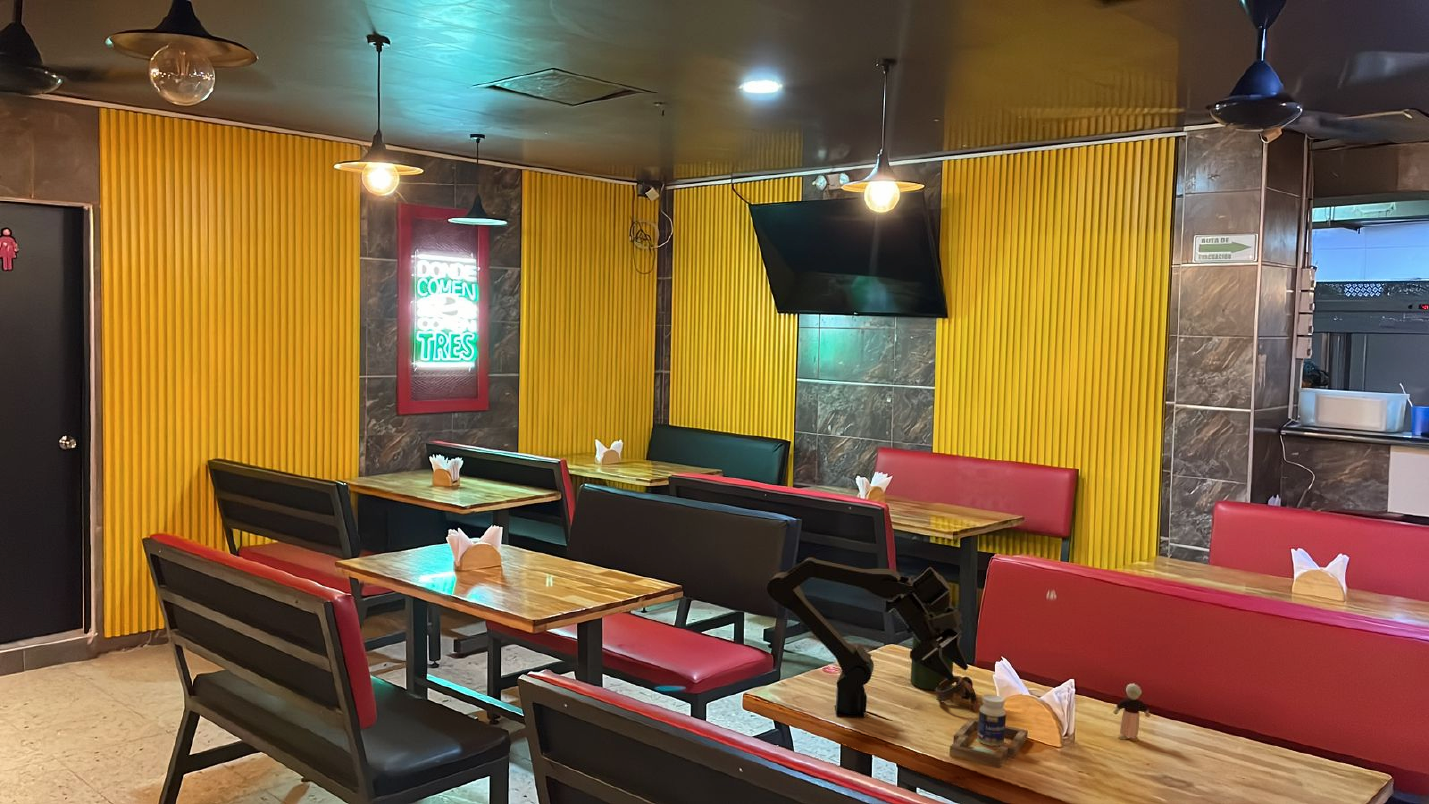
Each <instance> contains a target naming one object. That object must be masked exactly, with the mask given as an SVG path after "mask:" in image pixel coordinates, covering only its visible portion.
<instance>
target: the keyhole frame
mask: <svg viewBox="0 0 1429 804" xmlns="http://www.w3.org/2000/svg"><path fill="white" fill-rule="evenodd" d="M978 723H979V718H978V719H977V718H972V717H970V718H968V720H966V721H965V723H964V724H963V725H962V726H961V727H960V728H959V729H958V730H957V731H956V732H955V733H954V734H953V741H952V744H951V745H950V747H949V757H951V756H952V757H953V758H956V759H961V760H963V761H967V762H968V761H969V762H972V763H975V764H976V763H977V764H981V765H985V766H989V767H994V768H998V769H999V768H1000V767H1001V766H1002V765H1003V763H1004V762H1005V761H1006V759H1007V758H1009V759H1010V758H1011V759H1014V758H1015V756H1016V755H1017V754H1018V752H1019V751H1020V750H1021V748H1022V747H1023V746H1024V744H1025V743H1026V742H1027V740H1028V730H1027V729H1023V728H1018V727H1015V726H1014V727H1013V726H1008V725H1005V734H1004V738H1005V737H1006V738H1009V739H1012V740H1011V741H1010V742H1009V744H1004V743H1003V744H1002V745H999V748H998V749H997V750H996V751H994V750H992V749H990V748H986V747H983V746H968V744H969V743H968V742H969V736H971V734H972V733H973V732H974V731H977V732H978ZM1003 761H1004V762H1003ZM1001 764H1002V765H1001Z"/></svg>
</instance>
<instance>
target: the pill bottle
mask: <svg viewBox="0 0 1429 804" xmlns="http://www.w3.org/2000/svg"><path fill="white" fill-rule="evenodd" d="M1005 701H1006V700H1005V698H1004V697H1002V696H1000V695H997V694H984V695H983V696H982V700H981V702H982V703H983V704H982V705H981V706H979V711H978V720H979V723H978V731H977V740H978V742H980V743H981V744H982V745H983V744H984V745H986V746H989V747H990V746H991V747H1000V746H1001V745H1002V744H1004V742H1005V737H1004V734H1005V726H1006V720H1007V719H1006V718H1007V711H1006V709H1005V708H1004V706H1005Z"/></svg>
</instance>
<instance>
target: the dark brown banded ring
mask: <svg viewBox="0 0 1429 804" xmlns="http://www.w3.org/2000/svg"><path fill="white" fill-rule="evenodd" d="M953 676H954V679H953V680H952V681H950V680H948V679H946V680H944V681H942V682H941V683H940V684H939V686H940V689H939V687H937V688H936V689H935V690H934V691H935V692H936V701H937V702H938V703H939V702H941V703H942V702H947V701H950V702H951V703H954V696H955V695H956V696H958V697H961V699H962V700H968V701H969V700H970V702H971V703H970V704H971V707H972V708H973V713H977V712H978V710H980V705H979V701H978V698H977V694H976V691H975V689H974V686H973V684H974V683H973V681H972V679H971V678H970V677H969V676H964V677H962V676H961V675H953ZM951 684H952V686H951V687H950V688H949V689H946V690H943V689H944V688H945V687H947V686H949V685H951ZM976 711H977V712H976Z"/></svg>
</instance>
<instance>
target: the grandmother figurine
mask: <svg viewBox="0 0 1429 804" xmlns="http://www.w3.org/2000/svg"><path fill="white" fill-rule="evenodd" d="M1125 690H1126V694H1127V697H1124V698H1123V699H1121V700H1120V701H1119V702H1118V703H1117V704H1116V707H1115V708H1114V710H1113V712H1112V713H1113V714H1114V715H1118V714H1119V712H1120V711H1121V710H1122V709H1123V712H1122V716H1121V720H1120V721H1121V722H1120V727H1119V734H1118V735H1117V739H1120V740H1127V739H1129V740H1130V741H1133V742H1139V741H1138V740H1139V737H1138V735H1139V729H1140V728H1139V727H1140V711H1141V712H1143V714H1144V716H1145V718H1150V717H1151V714H1150V711H1149V707H1148V705H1147V704H1146V703H1144V702H1143V701H1142V700H1140V699H1138V698H1139V697H1140V696H1141V695H1142V693H1143V692H1142V691H1143V690H1142V689H1141V687H1140V686H1139V685H1138V684H1136V683H1129V684H1127V686H1126V688H1125Z"/></svg>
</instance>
